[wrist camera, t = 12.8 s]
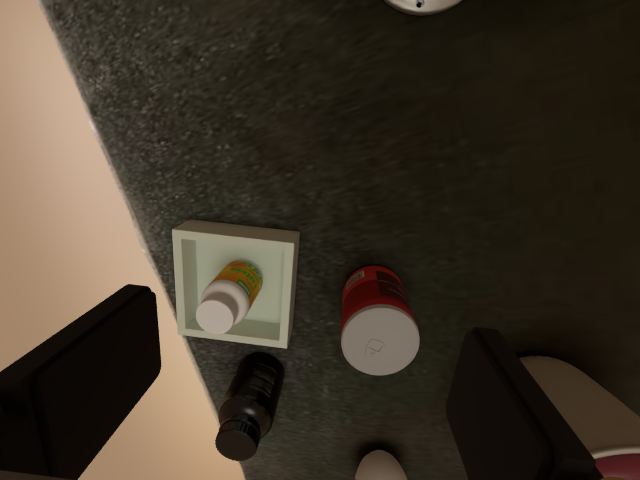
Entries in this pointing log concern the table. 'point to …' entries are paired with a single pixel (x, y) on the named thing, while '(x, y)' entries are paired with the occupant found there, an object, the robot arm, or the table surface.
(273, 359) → the supplement bottle
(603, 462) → the canister
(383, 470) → the air blower bulb
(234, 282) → the supplement bottle
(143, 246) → the table surface
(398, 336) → the canned food
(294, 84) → the table surface
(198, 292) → the bin
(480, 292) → the table surface
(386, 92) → the table surface
